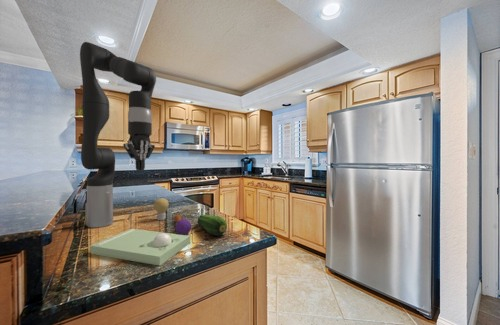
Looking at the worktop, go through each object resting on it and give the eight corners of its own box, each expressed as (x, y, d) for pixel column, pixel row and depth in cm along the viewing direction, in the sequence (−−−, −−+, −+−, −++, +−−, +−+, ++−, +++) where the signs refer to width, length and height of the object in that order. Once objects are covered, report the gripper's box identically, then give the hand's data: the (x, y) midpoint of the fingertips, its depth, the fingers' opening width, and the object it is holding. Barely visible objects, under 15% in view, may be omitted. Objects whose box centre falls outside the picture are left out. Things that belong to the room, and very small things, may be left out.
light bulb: (171, 218, 104) (171, 197, 103) (160, 222, 98) (160, 200, 97) (161, 216, 106) (161, 196, 106) (150, 220, 100) (150, 199, 100)
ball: (164, 255, 66) (150, 254, 68) (175, 247, 71) (161, 246, 73) (163, 237, 66) (148, 237, 67) (174, 230, 71) (160, 230, 73)
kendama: (185, 212, 101) (193, 221, 83) (183, 225, 100) (191, 237, 82) (172, 211, 99) (177, 220, 81) (169, 224, 98) (175, 236, 80)
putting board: (90, 253, 67) (90, 244, 67) (131, 235, 82) (131, 228, 82) (159, 265, 60) (159, 256, 60) (190, 243, 76) (190, 235, 76)
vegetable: (217, 216, 79) (196, 206, 96) (209, 235, 78) (189, 221, 94) (233, 222, 83) (210, 211, 100) (225, 240, 82) (203, 226, 98)
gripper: (144, 124, 84) (144, 168, 85) (115, 119, 72) (116, 171, 72) (161, 124, 82) (161, 169, 83) (134, 118, 70) (134, 172, 70)
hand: (140, 170), depth 78 cm, fingers closed
